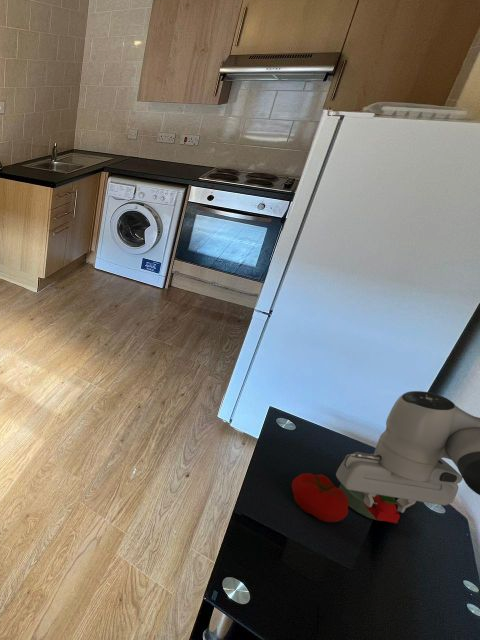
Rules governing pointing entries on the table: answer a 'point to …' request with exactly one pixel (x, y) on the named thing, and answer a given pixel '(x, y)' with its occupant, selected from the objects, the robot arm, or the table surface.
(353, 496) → the bowl
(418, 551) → the table surface
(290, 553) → the table surface
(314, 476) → the tomato
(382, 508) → the strawberry
